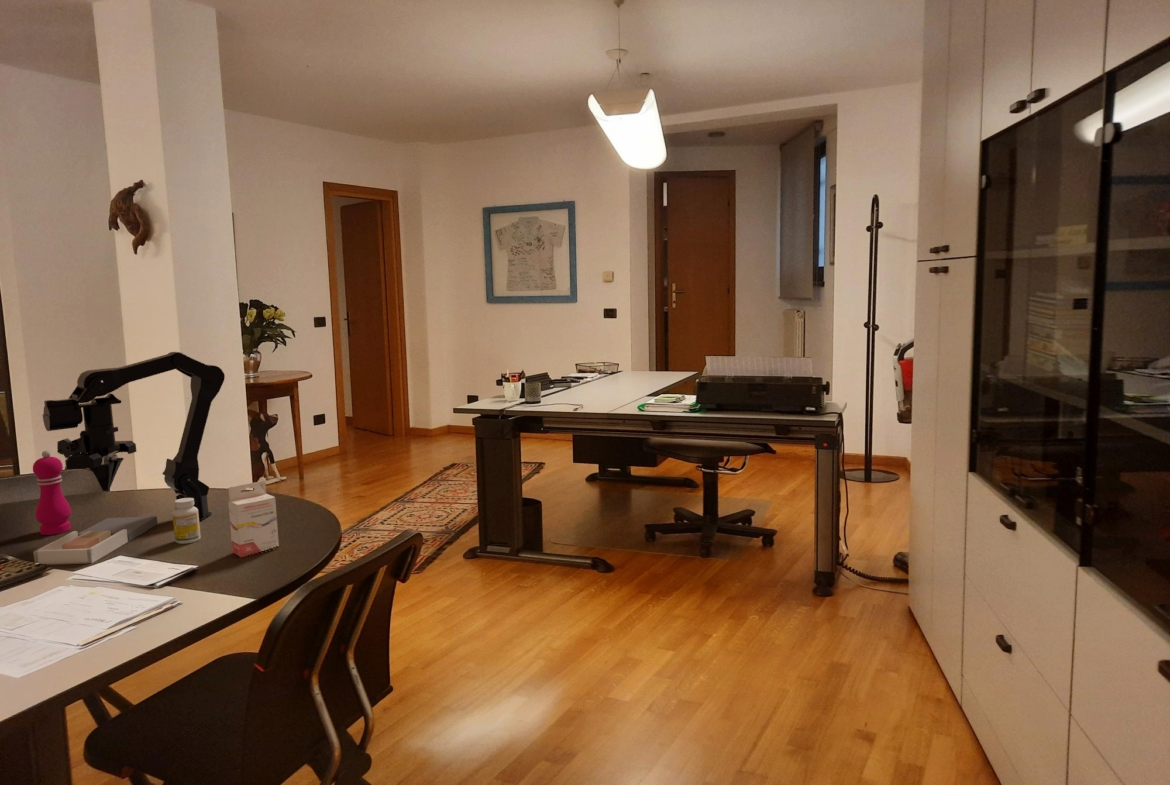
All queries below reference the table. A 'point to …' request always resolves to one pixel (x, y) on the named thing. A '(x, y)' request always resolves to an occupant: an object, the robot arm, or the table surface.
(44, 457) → the pepper mill
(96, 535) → the birch tile
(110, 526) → the board
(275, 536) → the ink cartridge box
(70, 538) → the box
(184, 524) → the supplement bottle
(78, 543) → the terracotta tile
